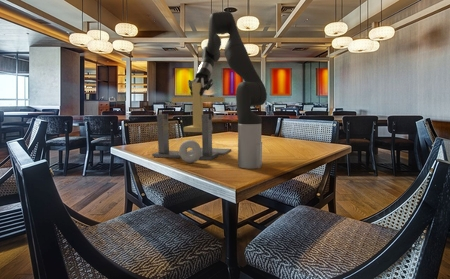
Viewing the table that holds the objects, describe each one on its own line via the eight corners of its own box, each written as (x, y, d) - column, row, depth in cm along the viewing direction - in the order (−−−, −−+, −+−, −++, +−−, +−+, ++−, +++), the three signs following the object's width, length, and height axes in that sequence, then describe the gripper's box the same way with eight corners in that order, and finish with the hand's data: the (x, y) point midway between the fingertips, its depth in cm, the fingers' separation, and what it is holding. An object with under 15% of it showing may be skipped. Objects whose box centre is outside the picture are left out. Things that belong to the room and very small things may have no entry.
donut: (178, 163, 112) (177, 140, 110) (181, 161, 115) (180, 139, 114) (200, 164, 109) (199, 140, 108) (202, 162, 113) (202, 139, 111)
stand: (217, 156, 126) (217, 113, 124) (210, 160, 117) (210, 114, 114) (162, 153, 135) (161, 113, 132) (152, 156, 126) (150, 114, 123)
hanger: (226, 130, 136) (226, 83, 133) (221, 132, 127) (220, 81, 123) (178, 129, 144) (176, 84, 141) (169, 131, 134) (167, 83, 131)
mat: (231, 150, 142) (231, 149, 142) (223, 155, 129) (223, 153, 129) (197, 148, 148) (197, 147, 148) (186, 153, 134) (186, 151, 134)
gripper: (190, 67, 140) (180, 89, 130) (215, 66, 136) (207, 88, 126) (194, 78, 146) (185, 100, 136) (218, 77, 142) (211, 99, 132)
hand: (196, 94), depth 131 cm, fingers closed on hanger, 4 cm apart
